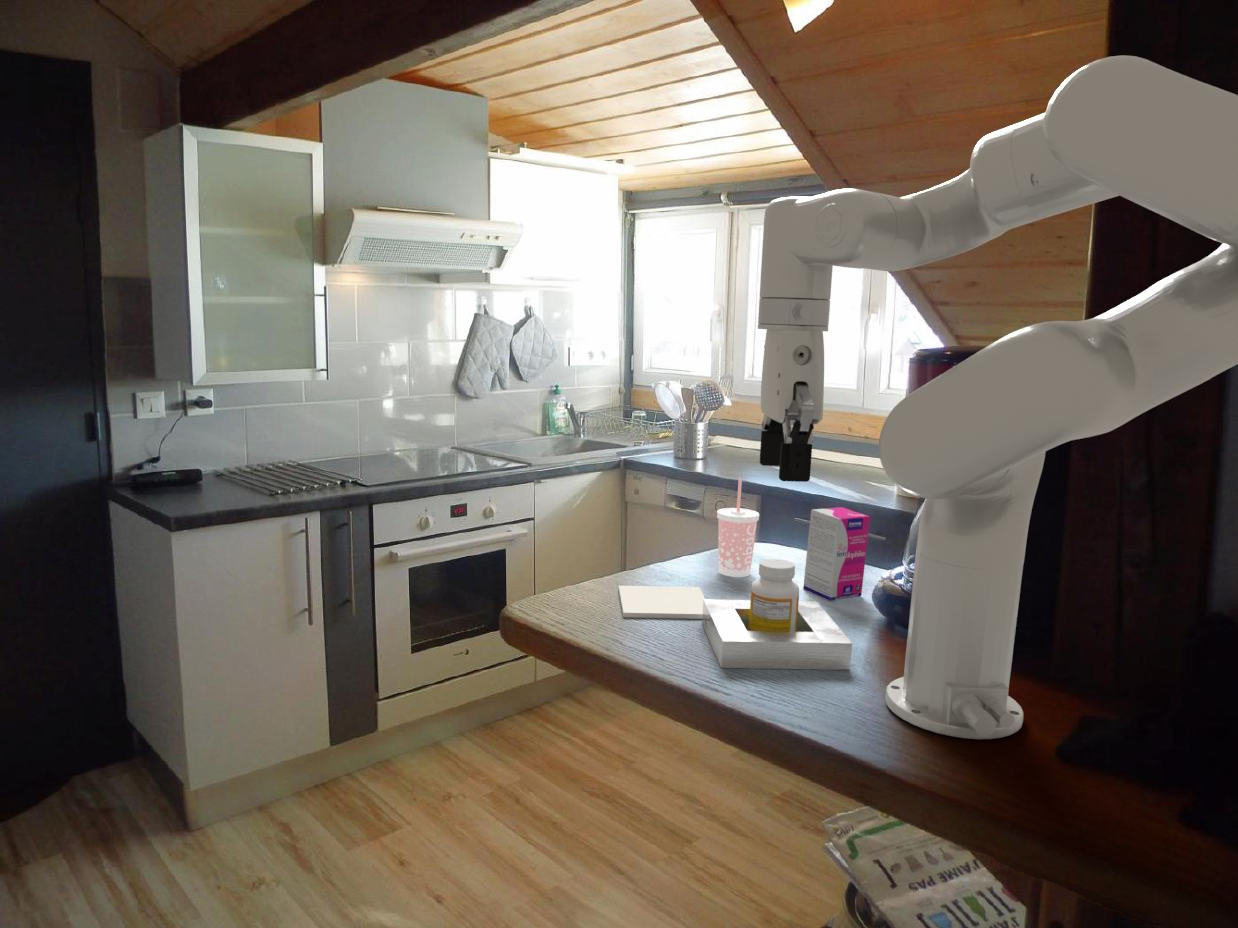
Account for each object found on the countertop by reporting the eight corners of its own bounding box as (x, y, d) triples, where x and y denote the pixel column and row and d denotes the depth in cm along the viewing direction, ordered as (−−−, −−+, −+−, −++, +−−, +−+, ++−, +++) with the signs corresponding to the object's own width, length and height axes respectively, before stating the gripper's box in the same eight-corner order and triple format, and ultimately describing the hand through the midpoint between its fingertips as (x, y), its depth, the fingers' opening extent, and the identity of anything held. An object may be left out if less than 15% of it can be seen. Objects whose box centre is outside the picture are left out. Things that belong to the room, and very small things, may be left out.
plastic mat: (712, 618, 113) (712, 614, 113) (623, 617, 112) (623, 612, 112) (699, 591, 123) (699, 587, 123) (618, 589, 123) (618, 585, 123)
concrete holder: (849, 669, 98) (852, 643, 98) (721, 667, 97) (722, 640, 97) (815, 624, 112) (816, 601, 111) (701, 622, 111) (703, 599, 111)
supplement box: (831, 602, 121) (838, 518, 119) (802, 589, 126) (808, 508, 124) (863, 597, 124) (871, 514, 122) (833, 584, 129) (840, 505, 127)
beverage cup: (730, 580, 129) (736, 483, 127) (704, 569, 134) (710, 475, 132) (764, 575, 132) (770, 480, 130) (737, 564, 137) (743, 473, 135)
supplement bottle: (766, 633, 108) (771, 554, 107) (804, 646, 105) (810, 564, 103) (738, 643, 105) (743, 561, 103) (776, 657, 101) (782, 573, 99)
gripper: (852, 318, 90) (839, 488, 93) (806, 317, 107) (797, 461, 110) (777, 316, 90) (766, 486, 92) (743, 315, 107) (735, 459, 110)
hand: (783, 472), depth 101 cm, fingers open, 9 cm apart
